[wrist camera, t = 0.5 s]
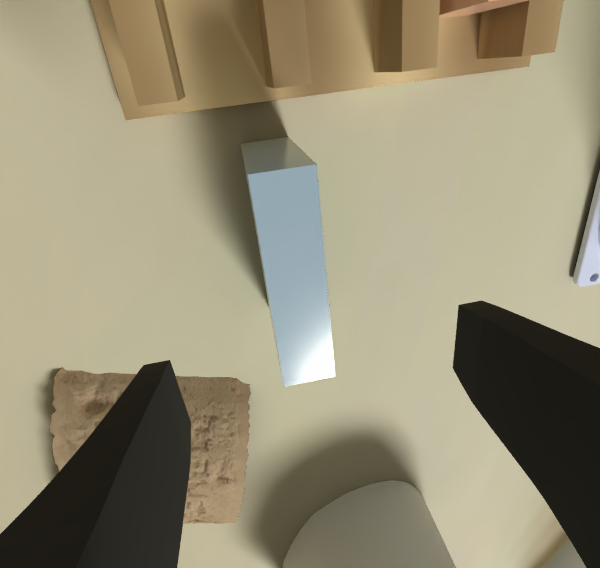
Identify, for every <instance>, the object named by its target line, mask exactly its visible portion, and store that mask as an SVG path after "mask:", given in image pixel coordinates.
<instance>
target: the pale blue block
mask: <svg viewBox="0 0 600 568" xmlns="http://www.w3.org/2000/svg"><path fill="white" fill-rule="evenodd" d="M241 149H242V155H243V161H244V166H245V172H246V178H247V184H248V189H249V195H250V201H251V207H252V213H253V218H254V224H255V230H256V236H257V241H258V247H259V253H260V259H261V264H262V270H263V276H264V282H265V287H266V293H267V299H268V305H269V310H270V316H271V321H272V326H273V331H274V337H275V342H276V347H277V352H278V358H279V363H280V368H281V374H282V379H283V384H284V387H285V386H290V385H295V384H300V383H305V382H310V381H315V380H320V379H325V378H330V377H335V366H334V355H333V344H332V333H331V321H330V310H329V299H328V288H327V276H326V265H325V254H324V242H323V231H322V220H321V209H320V197H319V186H318V175H317V164H316V163H315V162H314V161H313V160H312V159H311V158H310V157H308V156H307V155H306V154H305V153H304V152H303V151H302V150H301V149H300V148H299V147H298V146H297V145H296V144H295V143H294V142H293V141H292V140H291V139H290V138H289V137H284V138H277V139H270V140H263V141H256V142H249V143H242V144H241Z"/></svg>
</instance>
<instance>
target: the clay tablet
mask: <svg viewBox="0 0 600 568" xmlns="http://www.w3.org/2000/svg"><path fill="white" fill-rule="evenodd" d="M136 375H137V374H118V373H104V374H92V373H88V372H84V371H67V370H65V369H64V368H61V369H60V370H59V372H58V373H57V374H56V376H55V377H54V381H55V382H54V386H53V393H54V394H53V396H54V401H53V403H52V404H53V406H54V407H55V409H56V411H55V412H54V413H53V414H52V415H51V420H52V422H51V424H50V432H51V433H52V434H53V435H54V436H55V437H54V438H53V444H52V449H53V456H54V459H55V463H56V465H57V466H58V469H59V472H60V470H61V469H62V468H63V467H64V466H65V464H66V463H67V462H68V461H69V460H70V459H71V457H72V456H73V455H74V454H75V453H76V451H77V450H78V449H79V448H80V447H81V446H82V444H83V443H84V442H85V441H86V440H87V439H88V437H89V436H90V435H91V433H92V432H93V431H94V430H95V428H96V427H97V426H98V424H99V423H100V422H101V421H102V419H103V418H104V417H105V416H106V414H107V413H108V412H109V410H110V409H111V408H112V406H113V405H114V404H115V402H116V401H117V400H118V398H119V397H120V396H121V394H122V393H123V392H124V390H125V389H126V388H127V386H128V385H129V384H130V382H131V381H132V380H133V378H134V377H135V376H136ZM176 379H177V382H178V385H179V388H180V391H181V394H182V397H183V400H184V403H185V406H186V409H187V412H188V415H189V418H190V421H191V464H190V473H189V480H188V488H187V496H186V504H185V511H184V519H183V524H184V523H194V524H195V523H215V524H222V523H232V522H235V520H237V519H236V518H237V517H238V516H237V515H238V514H239V512H240V510H241V507H239V506H240V505H241V503H242V500H243V496H244V490H245V488H244V486H243V485H242V483H243V481H244V479H245V474H246V472H245V469H246V464H245V463H246V461H247V458H248V450H247V443H248V439H249V427H250V424H249V421H248V420H249V413H248V411H249V408H250V406H249V404H248V400H249V397H250V394H251V393H250V388H249V385H250V384H245V383H243V382H241V381H240V380H238V379H237V378H231V377H210V378H208V377H180V376H176Z"/></svg>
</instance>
